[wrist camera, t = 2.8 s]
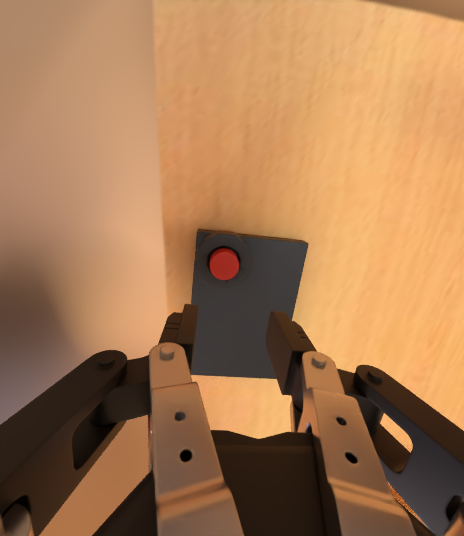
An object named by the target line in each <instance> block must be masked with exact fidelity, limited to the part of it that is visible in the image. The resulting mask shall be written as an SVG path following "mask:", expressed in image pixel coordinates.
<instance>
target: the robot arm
mask: <svg viewBox="0 0 464 536" xmlns="http://www.w3.org/2000/svg"><path fill="white" fill-rule="evenodd" d="M197 317H198V305H191V304H185V306H184V310H183V313H176V312H174V313H172V314H171V315H170V316H169V317H168V318H167V321H166V324H165V327H164V330H163V332H162V335H161V338H160V341H159V343H158V345H156V346H154V347H153V348H152V349H151V350H150V352H149V355H148V356H145V357H142V358H138V359H132V360H127V357H126V355H125V354H124V353H123V352H120V351H117V350H106V351H102V352H99V353H96V354H94V355H93V356H91V357H90V358H88V359H87V360H86V361H84V362H83V363H82V364H80V365H79V366H78V367H76V368H75V369H74V370H72V371H71V372H70V373H68V374H67V375H66V376H64V377H63V378H62V379H61V380H59V381H58V382H57V383H55V384H54V385H53V386H51V387H50V388H49V389H47V390H46V391H45V392H43V393H42V394H41V395H39V396H38V397H37V398H35V399H34V400H33V401H31V402H30V403H29V404H28V405H26V406H25V407H23V408H22V409H21V410H20V411H18V412H17V413H16V414H14V415H13V416H12V417H10V418H9V419H8V420H7V421H5V422H4V423H2V424H1V425H0V536H39V535H40V534H41V532H42V531H43V530H44V528H45V527H46V526H47V524H48V523H49V522H50V521H51V519H52V518H53V517H54V515H55V514H56V513H57V511H58V510H59V509H60V508H61V506H62V505H63V504H64V502H65V501H66V500H67V499H68V497H69V496H70V494H71V493H72V492H73V491H74V490H75V488H76V487H77V485H78V484H79V483H80V482H81V480H82V479H83V478H84V477H85V475H86V474H87V472H88V471H89V470H90V469H91V467H92V466H93V465H94V463H95V462H96V461H97V460H98V458H99V457H100V456H101V454H102V453H103V452H104V451H105V449H106V448H107V447H108V445H109V444H110V443H111V441H112V440H113V439H114V438H115V436H116V435H117V434H118V432H119V431H120V430H121V428H122V427H123V426H124V424H125V423H126V421H127V420H129V419H133V418H137V417H141V416H145V415H148V446H149V473H148V474H147V475H146V477H145V478H144V479H143V480H142V481H141V482H140V483H139V484H138V485H137V486H136V488H135V489H134V490H133V491H132V492H131V493H130V494H129V495H128V496H127V498H126V499H125V500H124V501H123V502H122V503H121V504H120V505H119V506H118V507H117V509H116V510H115V511H114V512H113V513H112V514H111V515H110V516H109V517H108V519H107V520H106V521H105V522H104V523H103V524H102V525H101V526H100V527H99V528H98V530H97V531H96V532H95V533H94V534H93V535H92V536H464V431H463V430H462V429H460V428H459V427H458V426H456V425H455V424H454V423H452V422H451V421H450V420H448V419H447V418H445V417H444V416H443V415H441V414H440V413H439V412H437V411H436V410H435V409H433V408H432V407H431V406H429V405H428V404H427V403H425V402H424V401H423V400H421V399H420V398H419V397H417V396H416V395H415V394H413V393H412V392H410V391H409V390H408V389H406V388H405V387H404V386H402V385H401V384H400V383H398V382H397V381H396V380H394V379H393V378H392V377H390V376H389V375H388V374H386V373H385V372H383V371H382V370H380V369H378V368H376V367H373V366H369V365H360V366H358V367H357V368H356V371H355V373H351V372H348V371H344V370H340V369H337V368H336V365H335V363H334V361H333V360H332V359H331V358H329V357H328V356H326V355H324V354H322V353H320V352H317V351H316V349H315V347H314V346H313V344H312V343H311V341H310V340H309V339H308V337H307V335H306V334H305V332H304V330H303V329H302V327H301V326H300V325H298V324H297V323H296V322H294V321H290V319H289V317H288V315H287V314H286V312H280V311H271V313H270V317H269V322H268V328H267V333H266V348H267V351H268V354H269V357H270V360H271V363H272V366H273V369H274V372H275V375H276V378H277V381H278V384H279V387H280V390H281V393H282V395H291V396H292V401H291V405H290V416H291V432H285V433H281V434H278V435H274V436H270V437H266V438H262V439H256V438H252V437H249V436H245V435H241V434H238V433H234V432H230V431H224V430H210V427H209V423H208V420H207V416H206V412H205V408H204V405H203V401H202V397H201V394H200V390H199V386H198V384H197V382H192V378H191V371H192V363H193V355H194V347H195V339H196V328H197ZM384 413H385V414H386V415H387V416H389V417H390V418H391V419H392V420H393V421H394V422H395V423H396V424H397V425H399V426H400V427H401V428H402V429H403V430H404V431H405V432H406V433H407V434H408V435H409V437H410V438H411V441H412V443H413V449H412V451H411V453H410V452H409V451H408V450H407V449H406V448H405V447H404V446H403V445H402V444H401V443H399V442H398V441H397V440H396V439H395V438H394V437H393V436H392V435H391V434H390V433H389V432H388V431H387V430H386V429H385V428H384V427H383V426H382V425H381V424H380V421H381V419H382V416H383V414H384ZM387 481H388V482H389V483H390V485H391V486H392V487H393V488H394V489H395V490H396V491H397V493H398V494H399V495H400V496H401V497H402V498H403V500H404V501H405V502H406V503H407V504H408V505H409V506H410V508H411V509H412V510H413V511H414V512H415V513H416V514H417V516H418V517H419V518H420V519H421V520H422V521H423V523H424V524H425V525H426V526H427V527H428V528H429V529H428V528H427V527H426V526H425V525H424V524H423V523H422V522H420V521H419V520H418V519H417V518H416V517H415V516H414V515H412V514H411V513H410V512H409V511H408V510H407V509H406V508H404V507H403V506H402V505H401V504H400V503H399V502H398V501H396V500H395V499H394V497H393V495H392V492H391V490H390V487H389V485H388V482H387Z"/></svg>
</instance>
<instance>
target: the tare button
mask: <svg viewBox="0 0 464 536" xmlns="http://www.w3.org/2000/svg"><path fill="white" fill-rule="evenodd" d="M210 270H211V273H212V274H213V275H214V276H215V277H216V278H218V279H221V280H228V279H231V278H233V277H234V276H235V275H236V274H237V272H238V270H239V262H238V259H237V256H236V254H235V253H234V252H233V251H232V250H230V249H228V248H220V249H217V250H216V251H215V252H213V254H212V255H211V258H210Z"/></svg>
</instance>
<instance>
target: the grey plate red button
mask: <svg viewBox="0 0 464 536" xmlns="http://www.w3.org/2000/svg"><path fill="white" fill-rule="evenodd" d="M220 248H228V249H230V250H232V251H233V252H234V253H235V254H236V256H237V259H238V262H239V270H238V272H237V274H236V275H235V276H234V277H233V278H231V279H228V280H221V279H218V278H216V277H215V276H214V275H213V274H212V273H211V270H210V258H211V255H212V254H213V252H215V251H216V250H217V249H220ZM307 248H308V243H306V242H305V241H302V240H293V239H284V238H275V237H266V236H257V235H248V234H239V233H234V232H228V231H212V230H203V229H198V231H197V238H196V251H195V263H194V276H193V289H192V301H191V305H198V317H197V328H196V339H195V347H194V355H193V363H192V371H191V375H207V376H227V377H248V378H269V379H277V378H276V375H275V372H274V369H273V366H272V363H271V360H270V357H269V354H268V351H267V348H266V333H267V328H268V322H269V317H270V313H271V311H280V312H286V314H287V315H288V317H289V319H290V321H292V317H293V312H294V308H295V303H296V299H297V294H298V289H299V285H300V280H301V276H302V271H303V267H304V262H305V257H306V253H307Z"/></svg>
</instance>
